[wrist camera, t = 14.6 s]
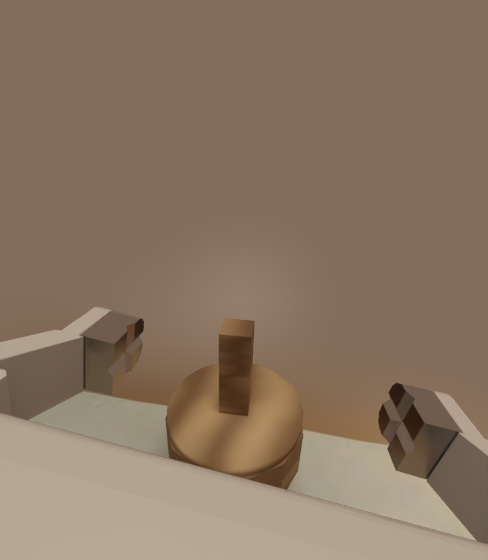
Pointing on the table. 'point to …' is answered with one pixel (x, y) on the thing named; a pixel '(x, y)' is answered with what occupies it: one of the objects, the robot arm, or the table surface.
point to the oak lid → (237, 415)
